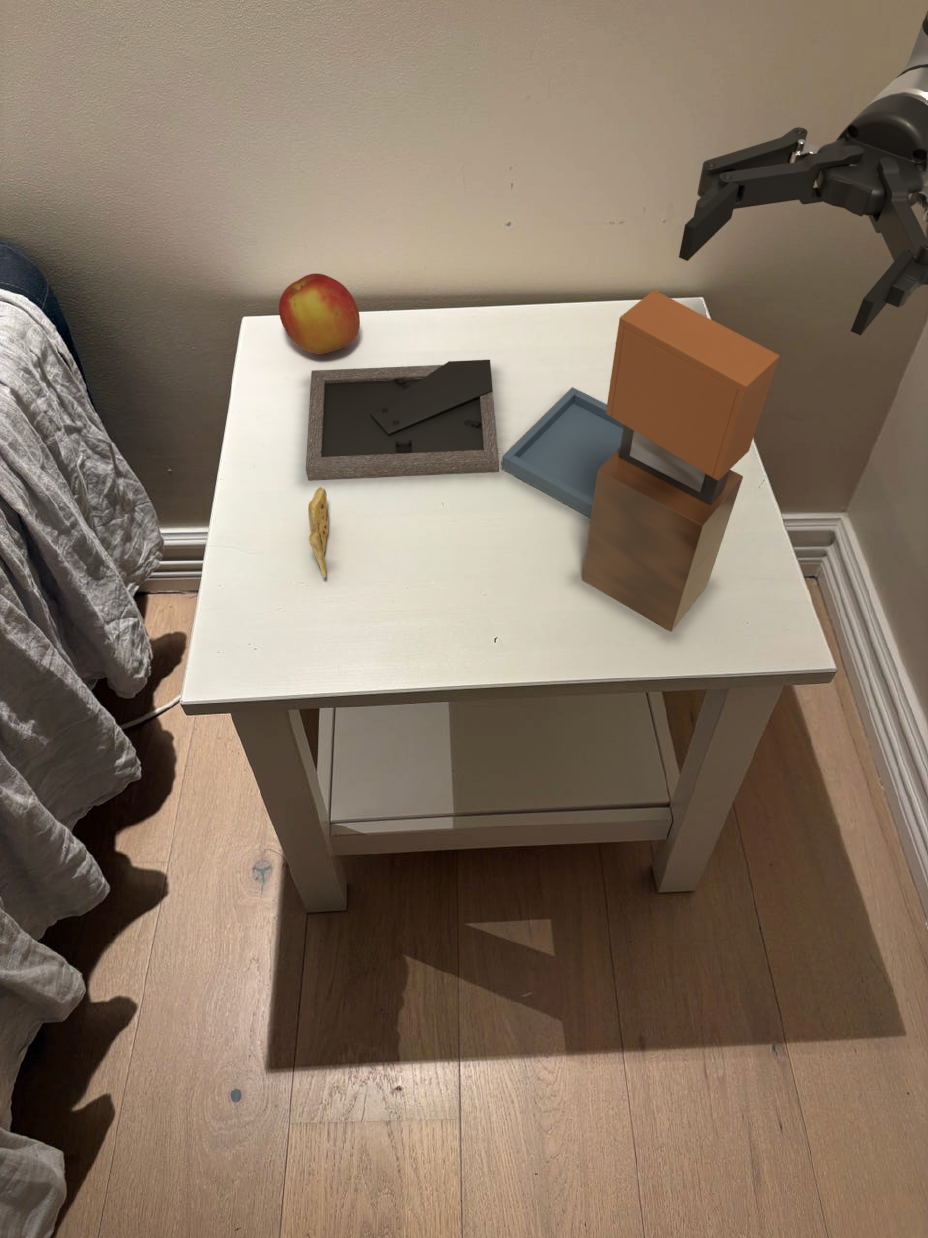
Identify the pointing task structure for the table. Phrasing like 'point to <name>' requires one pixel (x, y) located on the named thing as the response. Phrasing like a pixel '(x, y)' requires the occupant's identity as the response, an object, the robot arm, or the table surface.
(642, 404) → the orange brown block
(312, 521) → the pastry
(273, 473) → the table surface
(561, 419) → the tray
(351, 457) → the picture frame
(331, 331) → the apple
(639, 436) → the wooden block with slab
